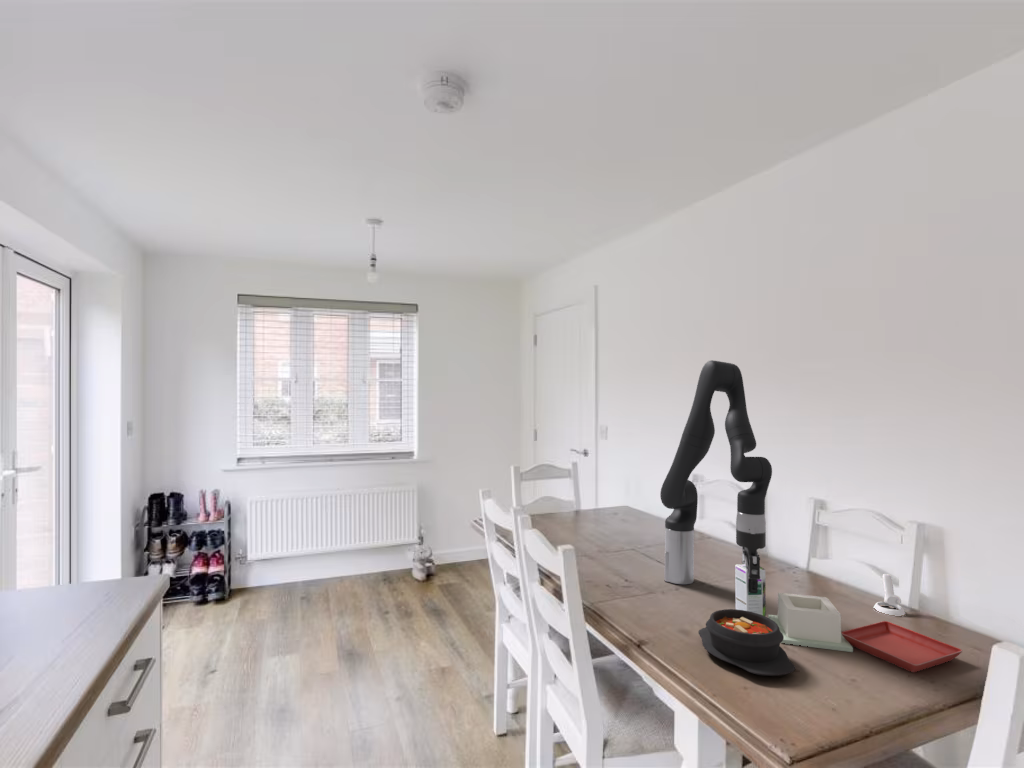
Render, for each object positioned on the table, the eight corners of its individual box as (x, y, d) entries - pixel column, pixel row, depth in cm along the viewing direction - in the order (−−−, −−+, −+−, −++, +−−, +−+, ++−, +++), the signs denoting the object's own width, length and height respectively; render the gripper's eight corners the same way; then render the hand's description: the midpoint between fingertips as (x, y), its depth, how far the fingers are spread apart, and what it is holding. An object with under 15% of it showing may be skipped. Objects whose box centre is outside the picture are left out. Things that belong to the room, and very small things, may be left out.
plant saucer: (916, 679, 120) (916, 664, 120) (838, 644, 137) (838, 631, 137) (964, 664, 127) (964, 650, 128) (885, 632, 144) (885, 620, 144)
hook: (888, 584, 166) (904, 577, 160) (896, 625, 159) (913, 619, 153) (863, 578, 166) (878, 571, 161) (870, 618, 159) (886, 613, 154)
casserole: (817, 679, 119) (817, 640, 119) (742, 688, 115) (743, 648, 115) (744, 630, 144) (744, 598, 144) (680, 637, 139) (680, 603, 139)
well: (780, 643, 136) (780, 611, 136) (768, 618, 152) (768, 589, 152) (852, 652, 132) (853, 618, 132) (832, 625, 148) (832, 595, 148)
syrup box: (746, 623, 148) (747, 570, 148) (734, 615, 154) (734, 563, 154) (766, 622, 149) (766, 569, 149) (753, 614, 154) (753, 562, 155)
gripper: (732, 522, 159) (732, 577, 159) (739, 533, 146) (739, 595, 145) (760, 523, 157) (760, 580, 157) (770, 536, 144) (770, 598, 143)
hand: (750, 587), depth 151 cm, fingers open, 8 cm apart
